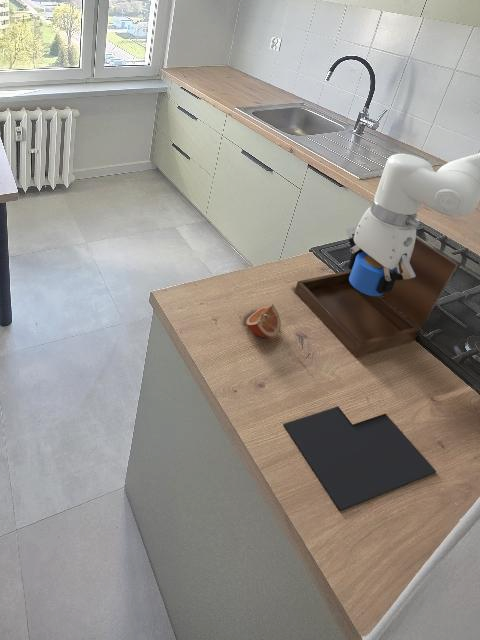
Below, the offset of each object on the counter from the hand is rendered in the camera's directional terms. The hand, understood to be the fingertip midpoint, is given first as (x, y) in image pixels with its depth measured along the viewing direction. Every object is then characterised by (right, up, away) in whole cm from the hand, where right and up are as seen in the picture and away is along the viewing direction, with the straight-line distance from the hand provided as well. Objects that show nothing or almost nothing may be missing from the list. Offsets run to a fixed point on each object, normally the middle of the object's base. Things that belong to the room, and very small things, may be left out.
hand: (368, 278), depth 93 cm
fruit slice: (-23, -12, +1) cm, 26 cm away
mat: (-16, -22, -21) cm, 34 cm away
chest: (-1, -11, +5) cm, 12 cm away
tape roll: (0, -2, +1) cm, 2 cm away
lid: (+8, +2, +2) cm, 9 cm away
